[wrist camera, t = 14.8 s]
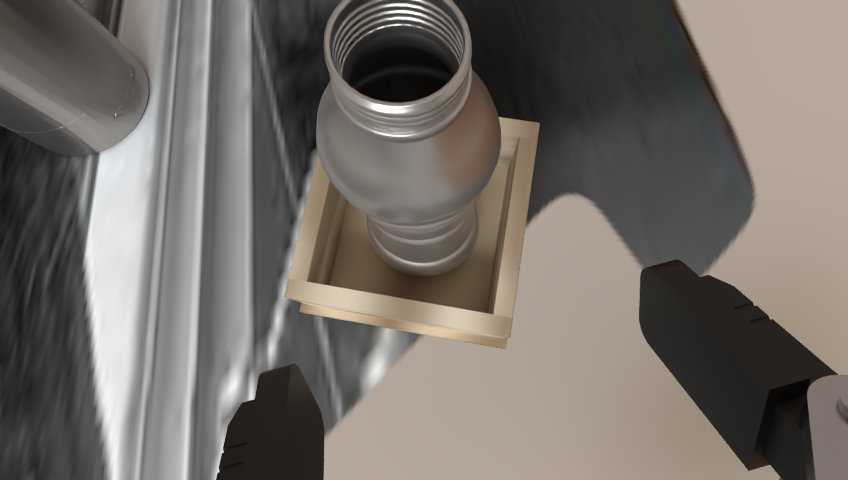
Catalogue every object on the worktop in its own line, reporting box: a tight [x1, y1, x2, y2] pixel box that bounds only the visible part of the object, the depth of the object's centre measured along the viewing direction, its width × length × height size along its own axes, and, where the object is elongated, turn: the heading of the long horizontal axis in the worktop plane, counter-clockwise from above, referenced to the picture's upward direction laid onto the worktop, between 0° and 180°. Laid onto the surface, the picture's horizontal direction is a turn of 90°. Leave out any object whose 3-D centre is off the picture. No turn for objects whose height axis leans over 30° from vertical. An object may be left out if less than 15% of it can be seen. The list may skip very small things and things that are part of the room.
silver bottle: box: [316, 0, 501, 277], centre depth 22 cm, size 6×7×20 cm
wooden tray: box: [284, 117, 540, 349], centre depth 30 cm, size 13×13×6 cm
